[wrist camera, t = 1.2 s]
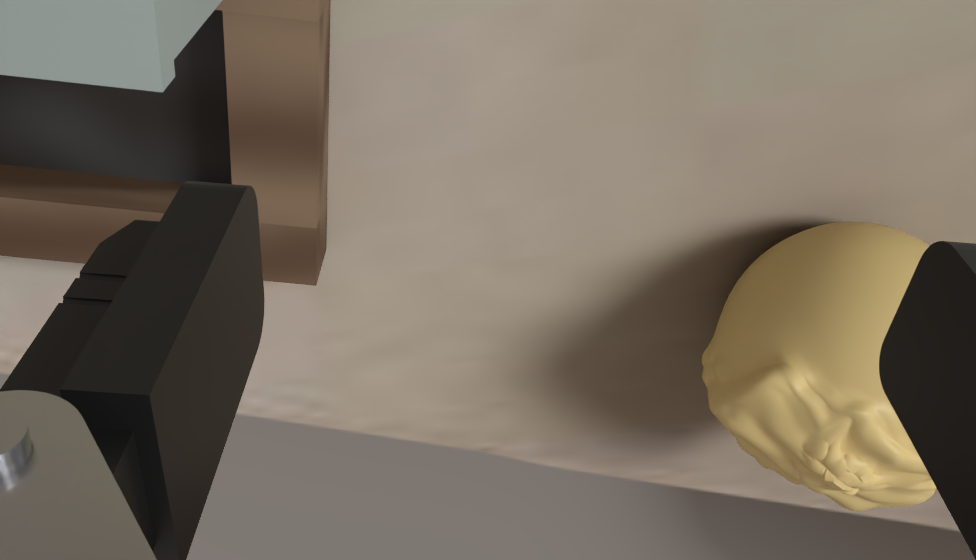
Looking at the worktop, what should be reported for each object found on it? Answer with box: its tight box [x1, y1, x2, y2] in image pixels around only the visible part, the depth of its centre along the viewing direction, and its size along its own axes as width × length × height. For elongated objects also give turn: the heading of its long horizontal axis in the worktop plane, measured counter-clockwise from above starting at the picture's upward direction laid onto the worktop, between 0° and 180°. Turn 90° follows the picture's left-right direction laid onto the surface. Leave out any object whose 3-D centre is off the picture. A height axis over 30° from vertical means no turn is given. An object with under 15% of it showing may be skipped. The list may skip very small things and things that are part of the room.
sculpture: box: [702, 222, 936, 511], centre depth 39 cm, size 11×12×11 cm
